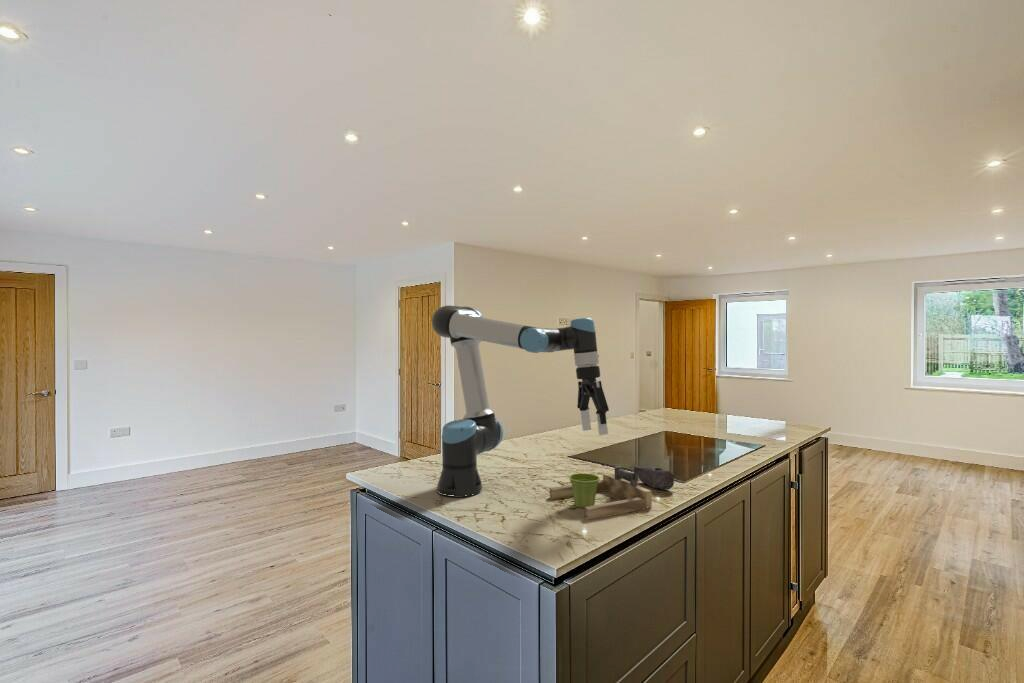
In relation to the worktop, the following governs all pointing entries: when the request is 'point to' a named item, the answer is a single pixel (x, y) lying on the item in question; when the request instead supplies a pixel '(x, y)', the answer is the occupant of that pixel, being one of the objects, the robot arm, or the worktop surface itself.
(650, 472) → the perforated stone tool
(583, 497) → the plant pot
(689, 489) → the worktop surface
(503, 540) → the worktop surface
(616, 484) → the bay
